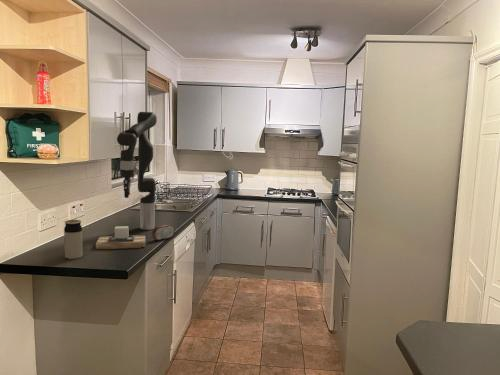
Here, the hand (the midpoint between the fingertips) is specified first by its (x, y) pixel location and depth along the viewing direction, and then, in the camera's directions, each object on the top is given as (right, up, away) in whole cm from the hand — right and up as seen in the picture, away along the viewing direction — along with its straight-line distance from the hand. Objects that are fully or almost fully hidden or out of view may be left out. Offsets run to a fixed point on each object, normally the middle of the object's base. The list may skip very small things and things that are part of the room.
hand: (127, 196), depth 226 cm
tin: (+20, -26, +7) cm, 33 cm away
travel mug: (-16, -29, -33) cm, 47 cm away
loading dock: (0, -27, -8) cm, 28 cm away
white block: (0, -24, -9) cm, 25 cm away
